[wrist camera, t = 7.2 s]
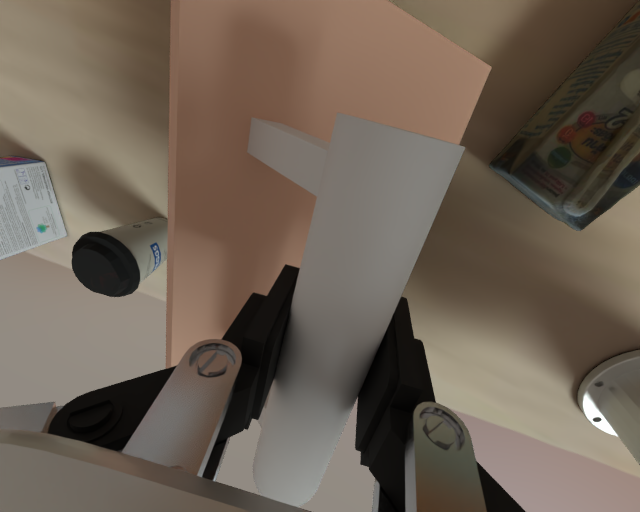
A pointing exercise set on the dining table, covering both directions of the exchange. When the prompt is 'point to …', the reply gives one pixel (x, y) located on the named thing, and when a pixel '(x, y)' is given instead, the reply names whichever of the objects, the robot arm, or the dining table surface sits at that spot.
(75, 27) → the dining table surface
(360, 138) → the flap
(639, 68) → the beverage carton
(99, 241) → the coffee cup
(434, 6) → the dining table surface
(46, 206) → the ink cartridge box
